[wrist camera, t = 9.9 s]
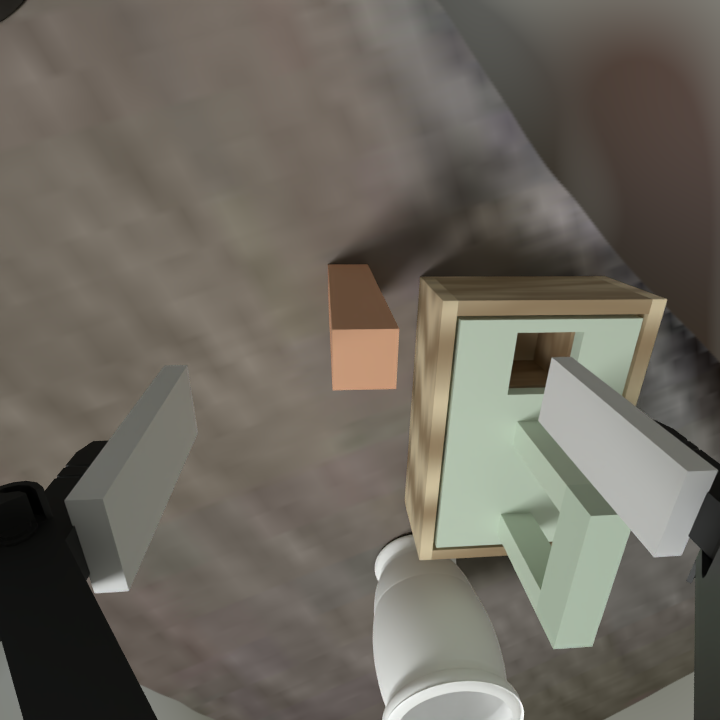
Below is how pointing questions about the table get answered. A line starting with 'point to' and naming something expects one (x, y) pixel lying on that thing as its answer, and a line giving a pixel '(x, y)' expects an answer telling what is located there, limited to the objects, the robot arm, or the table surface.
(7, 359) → the table surface
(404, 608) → the jar
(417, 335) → the wooden box
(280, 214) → the table surface
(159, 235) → the table surface
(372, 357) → the key peg
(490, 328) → the lid
